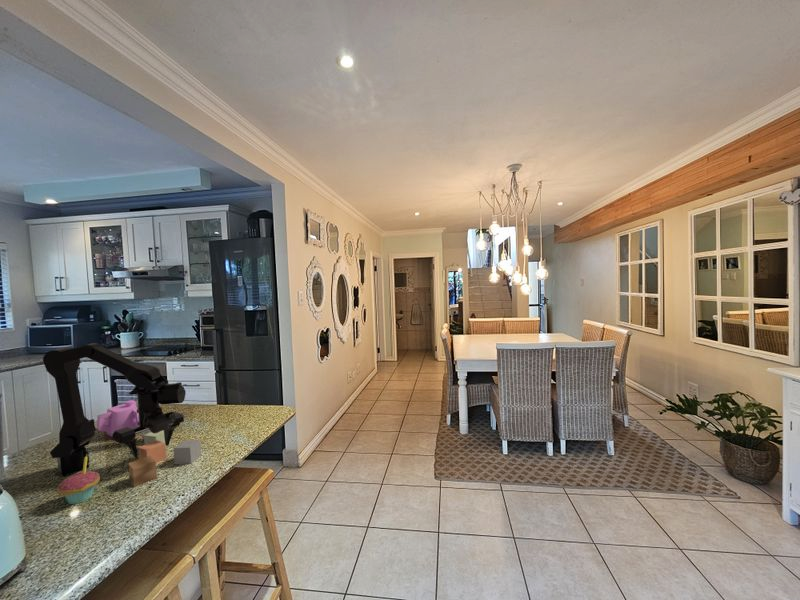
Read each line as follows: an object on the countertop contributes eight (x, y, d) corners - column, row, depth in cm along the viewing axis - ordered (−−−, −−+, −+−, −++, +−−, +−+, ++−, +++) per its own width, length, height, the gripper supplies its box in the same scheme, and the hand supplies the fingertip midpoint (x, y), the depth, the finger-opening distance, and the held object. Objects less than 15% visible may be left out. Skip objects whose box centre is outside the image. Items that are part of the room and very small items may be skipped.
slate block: (191, 463, 111) (190, 447, 111) (174, 464, 111) (173, 448, 111) (201, 455, 116) (200, 439, 116) (185, 456, 116) (184, 440, 116)
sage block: (156, 451, 120) (155, 436, 120) (144, 450, 122) (143, 435, 121) (170, 444, 126) (169, 429, 125) (159, 443, 127) (158, 428, 127)
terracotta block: (147, 467, 110) (146, 450, 109) (139, 463, 112) (138, 447, 112) (166, 459, 114) (165, 443, 114) (158, 455, 117) (157, 440, 117)
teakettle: (94, 442, 129) (91, 410, 129) (118, 425, 146) (116, 396, 145) (145, 436, 134) (143, 405, 133) (163, 419, 150) (162, 392, 150)
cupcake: (97, 486, 100) (94, 446, 99) (104, 496, 94) (100, 454, 94) (56, 501, 93) (52, 458, 92) (60, 513, 88) (56, 468, 87)
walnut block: (134, 487, 99) (133, 469, 98) (129, 480, 102) (128, 463, 102) (156, 478, 103) (155, 461, 102) (151, 472, 106) (150, 455, 106)
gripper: (126, 419, 100) (130, 471, 101) (191, 400, 117) (194, 444, 117) (110, 413, 106) (113, 462, 107) (174, 395, 122) (177, 438, 123)
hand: (152, 451), depth 113 cm, fingers open, 9 cm apart
